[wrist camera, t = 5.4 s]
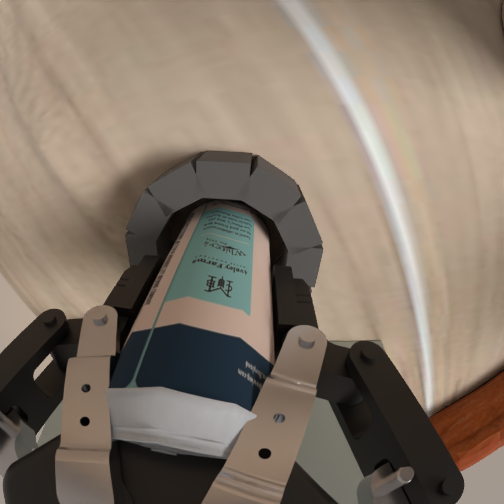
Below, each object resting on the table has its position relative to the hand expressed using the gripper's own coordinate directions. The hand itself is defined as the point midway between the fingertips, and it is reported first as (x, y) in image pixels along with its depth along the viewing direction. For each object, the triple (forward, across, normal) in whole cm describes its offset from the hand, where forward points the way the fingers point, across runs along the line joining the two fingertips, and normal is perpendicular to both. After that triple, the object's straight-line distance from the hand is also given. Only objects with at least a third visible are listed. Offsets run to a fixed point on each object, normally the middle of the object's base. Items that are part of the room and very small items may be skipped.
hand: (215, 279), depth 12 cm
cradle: (+4, 0, 0) cm, 4 cm away
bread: (+4, -42, +23) cm, 48 cm away
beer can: (+4, 0, 0) cm, 4 cm away
